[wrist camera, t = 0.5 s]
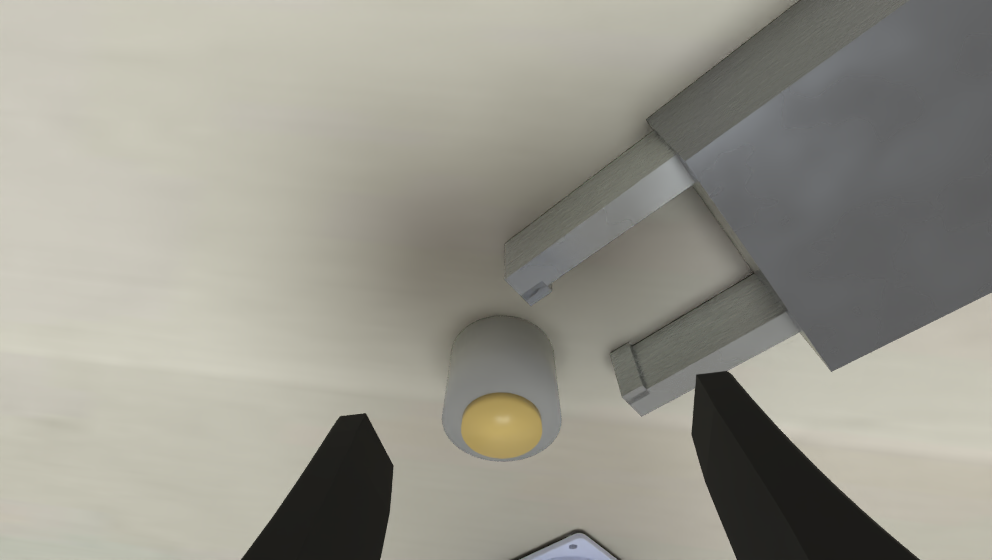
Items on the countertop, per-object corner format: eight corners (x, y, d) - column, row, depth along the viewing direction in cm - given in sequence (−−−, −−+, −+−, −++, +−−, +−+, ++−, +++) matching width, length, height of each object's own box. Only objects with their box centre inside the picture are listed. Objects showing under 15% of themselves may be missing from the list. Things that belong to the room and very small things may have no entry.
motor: (633, 378, 24) (658, 457, 20) (496, 235, 20) (494, 298, 16) (993, 173, 19) (1123, 227, 15) (897, -76, 15) (1038, -93, 11)
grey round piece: (497, 409, 26) (495, 486, 22) (430, 352, 24) (415, 426, 20) (574, 361, 24) (587, 436, 20) (508, 297, 22) (508, 365, 18)
